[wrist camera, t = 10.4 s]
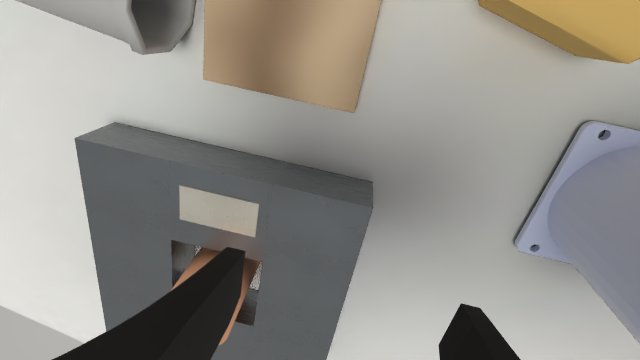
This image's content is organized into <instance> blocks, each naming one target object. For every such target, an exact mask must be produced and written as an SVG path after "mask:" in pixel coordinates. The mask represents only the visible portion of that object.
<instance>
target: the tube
mask: <svg viewBox="0 0 640 360" xmlns="http://www.w3.org/2000/svg"><path fill="white" fill-rule="evenodd" d="M16 1H19V2H21V3H24V4H27V5H29V6H32V7H35V8H37V9H40V10H43V11H45V12H48V13H50V14H53V15H56V16H58V17H61V18H64V19H66V20H69V21H72V22H74V23H77V24H79V25H82V26H85V27H87V28H90V29H93V30H95V31H98V32H101V33H103V34H106V35H109V36H111V37H114V38H116V39H119V40H122V41H124V42H126V43H128V44H130V47H131V49H132V51H134V52H137V53H139V54H142V55H144V54H154V53H163V52H170V51H172V49H173V48H174V47H175V46H176V44H177V43H178V42H179V41H180V39H181V38H182V37H183V36H184V34H185V33H186V32H187V30H188V29H189V28H190V27H191V25H192V21H193V14H194V7H195V0H16Z"/></svg>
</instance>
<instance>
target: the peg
mask: <svg viewBox="0 0 640 360" xmlns="http://www.w3.org/2000/svg"><path fill="white" fill-rule="evenodd" d="M219 253H220V251H216V250H212V249H208V248H204V247H202V248H201V249H200V251H199V252H198V253H197V255H196V256H195V258H194V259H193V260H192V262H191V263H190V265H189V266H188V267H187V269H186V270H185V271H184V273H183V274H182V276H181V277H180V278H179V280H178V281H177V283H176V284H175V285H174V287H173V288H172V290H173V289H174V288H176V287H177V286H178V285H180V284H181V283H182V282H184V281H185V280H186V279H188V278H189V277H190V276H191V275H193V274H194V273H195V272H197V271H198V270H199V269H200V268H202V267H203V266H204V265H205V264H207V263H208V262H209V261H210V260H211V259H213V258H214V257H215V256H216V255H217V254H219ZM259 263H260V261H257V260H253V259H249V258H245V260H244V269H243V279H242V288H241V296H240V299H239V301H238V304H237V306H236V309H235V311H234V314H233V316H232V319H231V321H230V324H229V326H228V328H227V330H226V332H225V334H224V335H223V337H222V339H221V341H220V343H219V345H221V344H222V343H224V342H225V341H226V339H227V338H228V336H229V333H230V331H231V329H232V326H233V324H234V322H235V319H236V317H237V315H238V312H239V310H240V308H241V305H242V303H243V301H244V298H245V296H246V294H247V291H248V289H249V287H250V284H251V282H252V280H253V277H254V275H255V273H256V270H257V268H258V266H259ZM219 345H218V346H219Z"/></svg>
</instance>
